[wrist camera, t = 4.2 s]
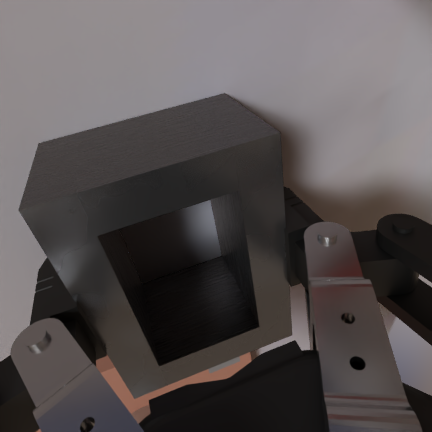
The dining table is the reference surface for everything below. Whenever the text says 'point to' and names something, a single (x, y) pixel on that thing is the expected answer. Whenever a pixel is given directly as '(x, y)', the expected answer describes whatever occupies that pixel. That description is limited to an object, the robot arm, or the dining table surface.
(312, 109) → the dining table surface
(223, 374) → the keeper plate
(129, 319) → the grey hollow block
